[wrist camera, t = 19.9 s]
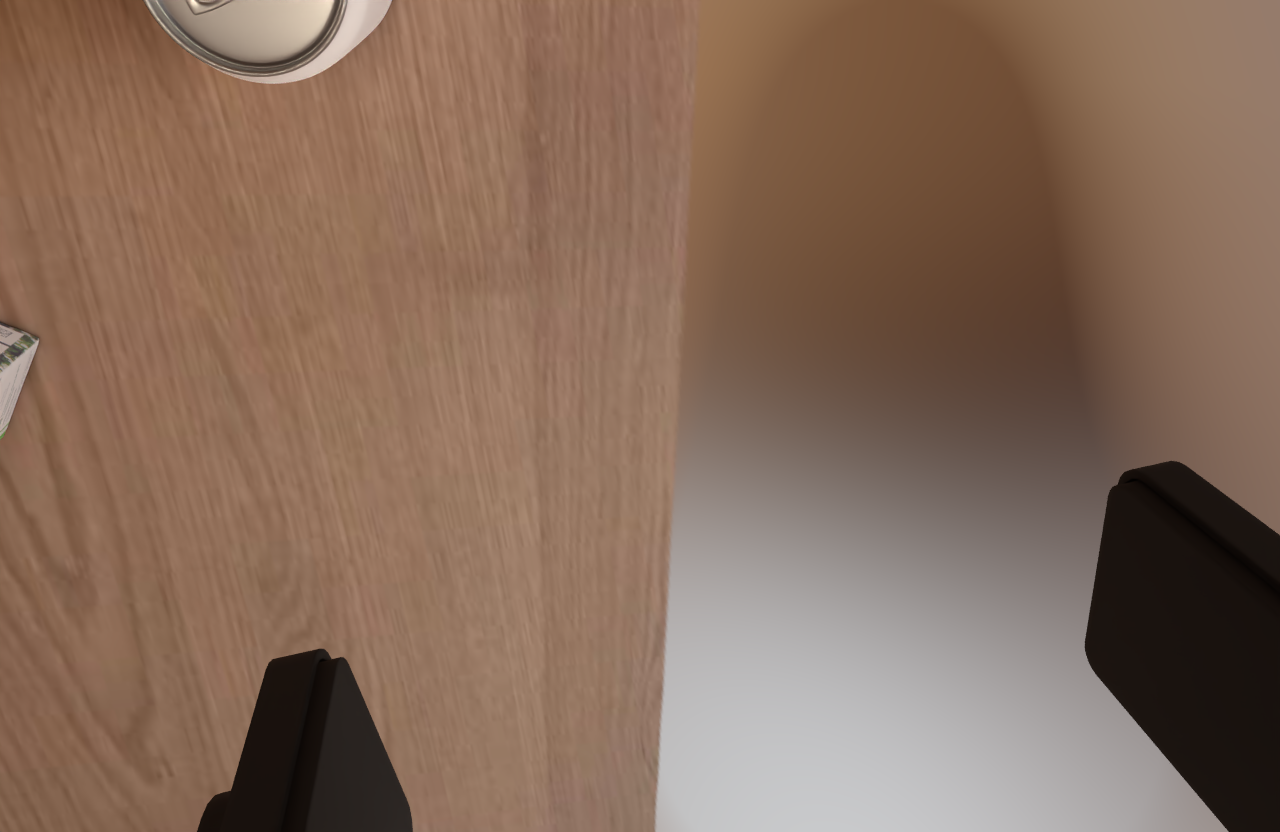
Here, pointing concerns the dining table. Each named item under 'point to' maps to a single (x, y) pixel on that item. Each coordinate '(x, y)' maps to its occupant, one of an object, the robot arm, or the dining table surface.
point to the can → (268, 33)
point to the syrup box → (13, 368)
